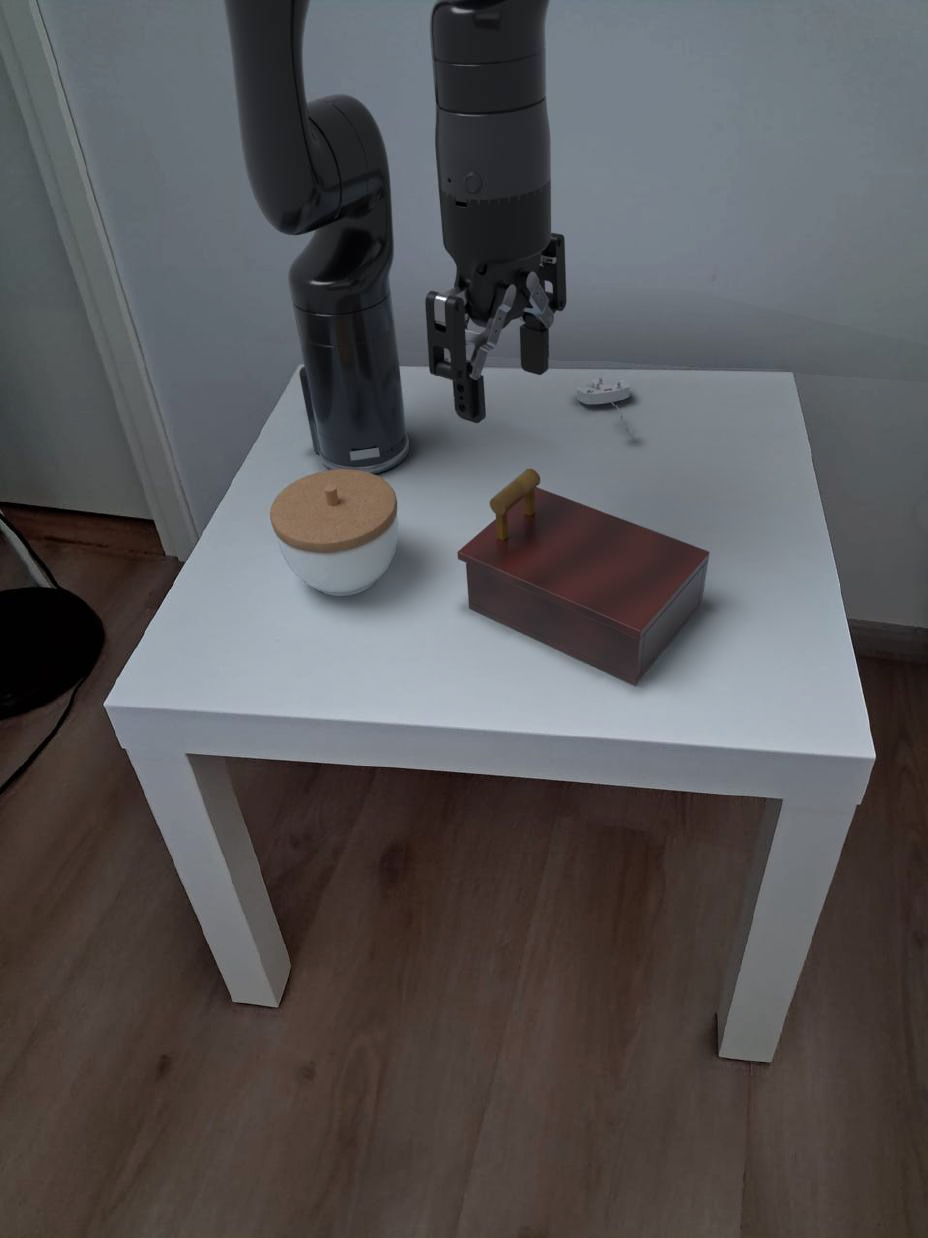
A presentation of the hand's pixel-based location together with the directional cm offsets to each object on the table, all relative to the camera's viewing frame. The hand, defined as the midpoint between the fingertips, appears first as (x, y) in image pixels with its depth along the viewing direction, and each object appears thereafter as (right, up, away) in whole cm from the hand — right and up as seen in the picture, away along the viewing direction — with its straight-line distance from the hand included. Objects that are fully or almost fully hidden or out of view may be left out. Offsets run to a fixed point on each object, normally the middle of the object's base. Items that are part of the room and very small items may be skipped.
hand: (504, 394), depth 73 cm
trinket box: (-14, -14, +11) cm, 22 cm away
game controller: (+13, +5, +29) cm, 32 cm away
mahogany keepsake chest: (+7, -16, +6) cm, 19 cm away
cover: (+6, -13, +3) cm, 14 cm away
